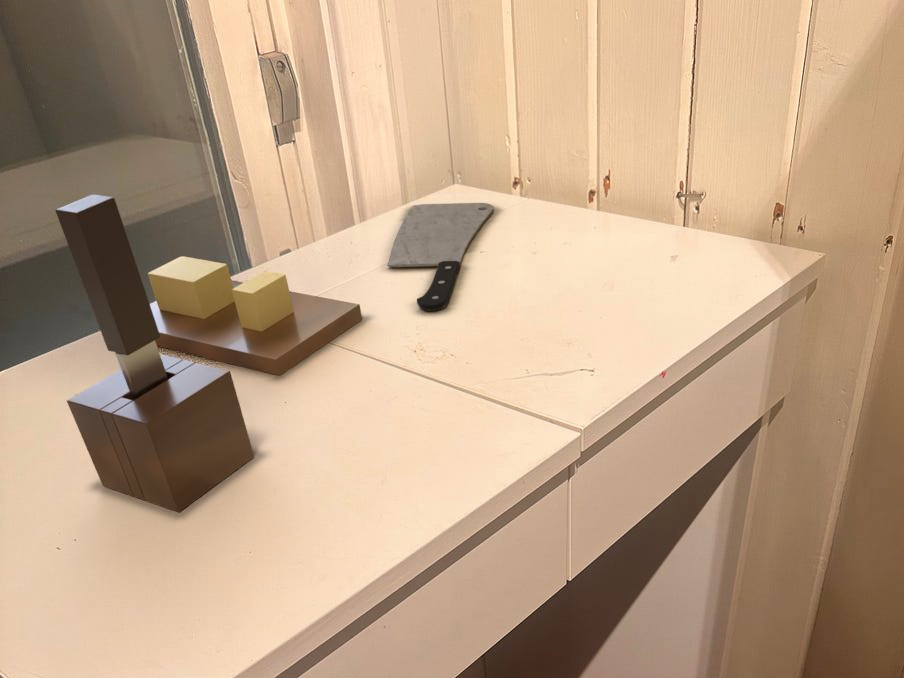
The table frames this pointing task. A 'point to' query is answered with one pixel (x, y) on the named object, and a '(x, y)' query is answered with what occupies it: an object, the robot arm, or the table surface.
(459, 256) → the cleaver
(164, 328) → the board
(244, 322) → the block
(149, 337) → the knife
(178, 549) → the table surface
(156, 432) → the knife block
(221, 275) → the butter block
